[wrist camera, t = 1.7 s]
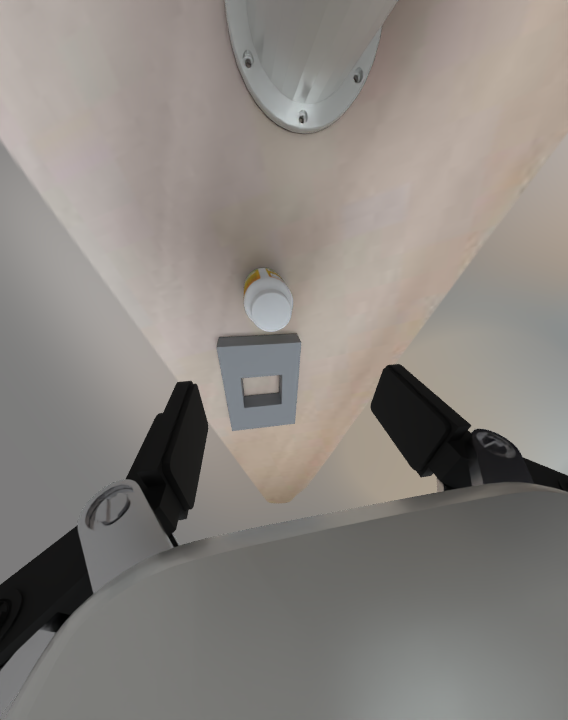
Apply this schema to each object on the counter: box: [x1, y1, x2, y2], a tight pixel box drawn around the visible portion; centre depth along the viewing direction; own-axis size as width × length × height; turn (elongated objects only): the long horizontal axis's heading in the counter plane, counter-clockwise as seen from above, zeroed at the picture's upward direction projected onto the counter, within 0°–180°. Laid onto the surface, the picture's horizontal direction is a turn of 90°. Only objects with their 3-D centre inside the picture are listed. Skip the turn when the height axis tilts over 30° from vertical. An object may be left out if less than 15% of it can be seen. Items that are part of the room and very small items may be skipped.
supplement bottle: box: [244, 268, 293, 332], centre depth 23 cm, size 5×5×10 cm
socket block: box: [217, 334, 301, 431], centre depth 35 cm, size 18×12×3 cm, turn 179°
